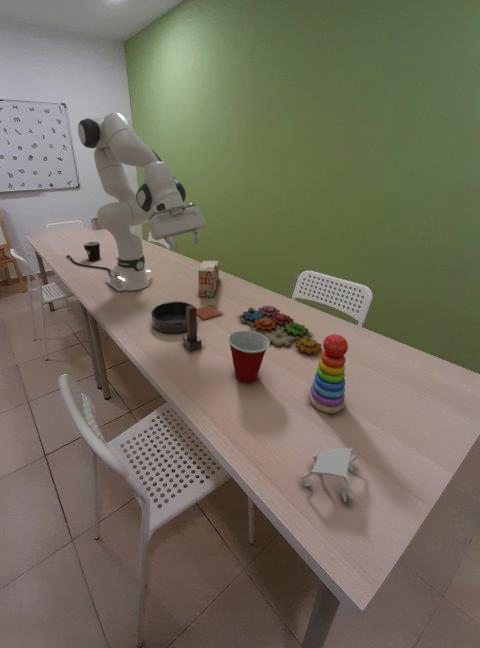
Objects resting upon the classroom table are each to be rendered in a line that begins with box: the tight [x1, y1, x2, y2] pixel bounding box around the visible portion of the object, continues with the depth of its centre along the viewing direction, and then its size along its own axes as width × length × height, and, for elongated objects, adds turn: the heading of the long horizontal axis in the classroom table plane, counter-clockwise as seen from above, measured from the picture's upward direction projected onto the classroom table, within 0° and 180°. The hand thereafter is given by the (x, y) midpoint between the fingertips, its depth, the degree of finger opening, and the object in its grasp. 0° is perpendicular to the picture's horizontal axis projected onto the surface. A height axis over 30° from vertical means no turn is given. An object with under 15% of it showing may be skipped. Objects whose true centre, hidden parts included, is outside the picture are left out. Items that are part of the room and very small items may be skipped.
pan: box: [150, 301, 198, 334], centre depth 109 cm, size 16×16×4 cm
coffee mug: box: [83, 241, 101, 262], centre depth 181 cm, size 12×9×10 cm
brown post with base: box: [182, 304, 202, 352], centre depth 94 cm, size 5×4×14 cm
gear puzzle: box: [239, 305, 323, 355], centre depth 101 cm, size 31×16×4 cm, turn 25°
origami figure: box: [299, 447, 360, 503], centre depth 55 cm, size 12×8×5 cm
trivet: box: [196, 304, 222, 321], centre depth 116 cm, size 8×8×1 cm
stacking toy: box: [308, 333, 349, 414], centre depth 69 cm, size 8×8×19 cm
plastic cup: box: [227, 329, 271, 384], centre depth 80 cm, size 11×11×12 cm
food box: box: [197, 260, 220, 298], centre depth 136 cm, size 21×6×12 cm, turn 169°
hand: (186, 245), depth 100 cm, fingers open, 8 cm apart
